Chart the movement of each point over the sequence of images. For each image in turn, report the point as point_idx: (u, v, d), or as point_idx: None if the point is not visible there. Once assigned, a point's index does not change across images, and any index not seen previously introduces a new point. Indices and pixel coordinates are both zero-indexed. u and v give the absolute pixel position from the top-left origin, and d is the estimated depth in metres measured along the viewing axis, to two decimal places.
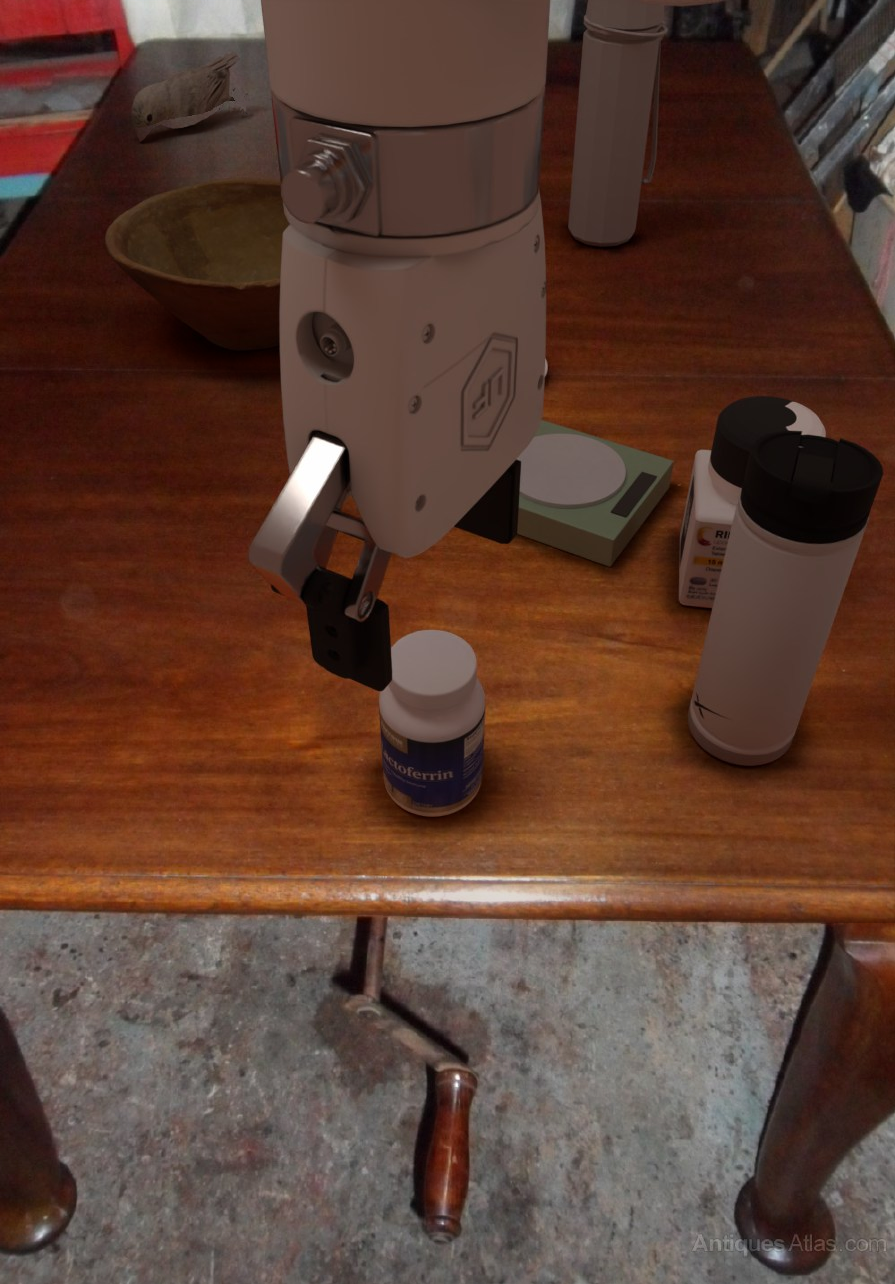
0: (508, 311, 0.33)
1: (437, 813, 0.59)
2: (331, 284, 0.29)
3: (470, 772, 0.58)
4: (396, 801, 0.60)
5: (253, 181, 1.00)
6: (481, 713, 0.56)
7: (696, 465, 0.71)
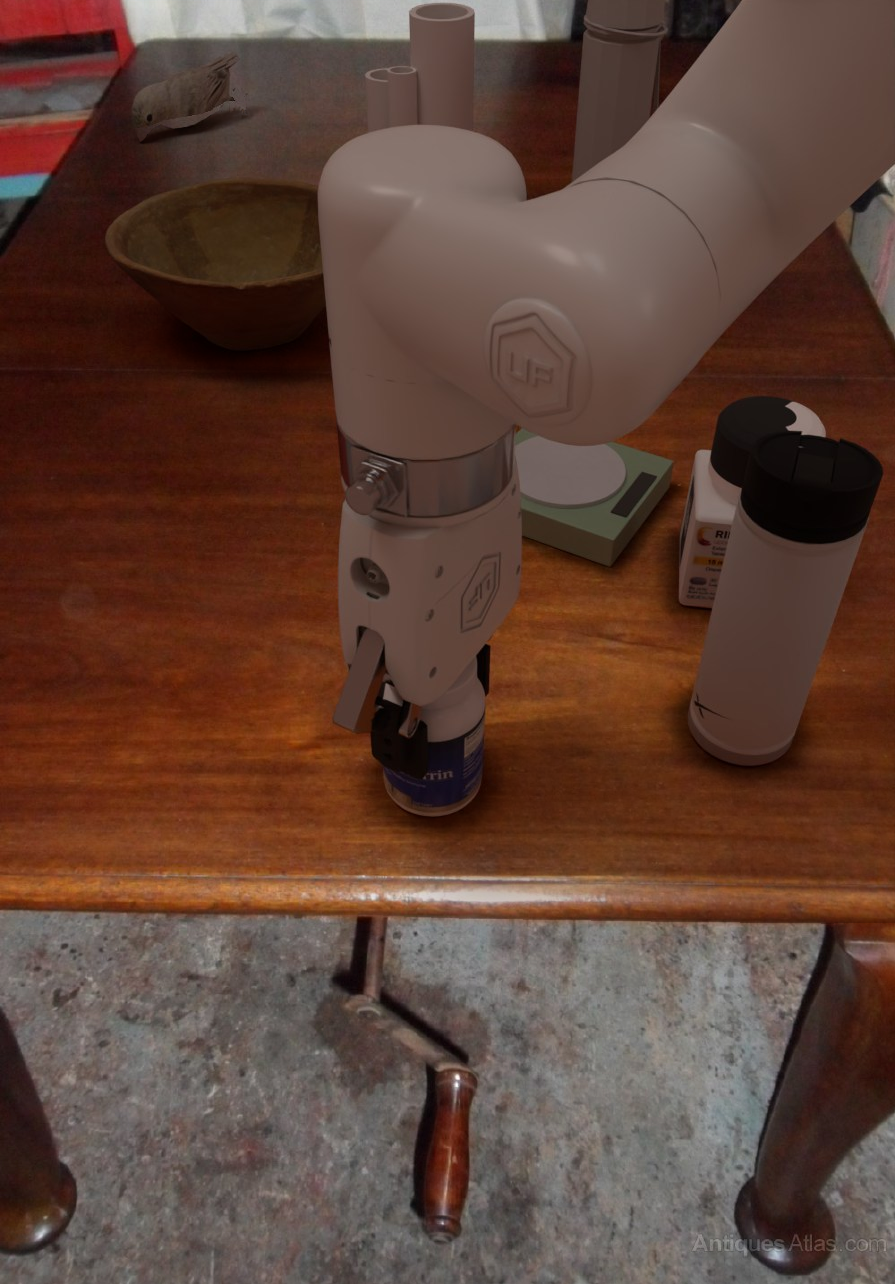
0: (493, 539, 0.48)
1: (437, 813, 0.59)
2: (375, 544, 0.44)
3: (470, 771, 0.58)
4: (396, 801, 0.59)
5: (253, 181, 1.00)
6: (481, 713, 0.56)
7: (696, 465, 0.71)
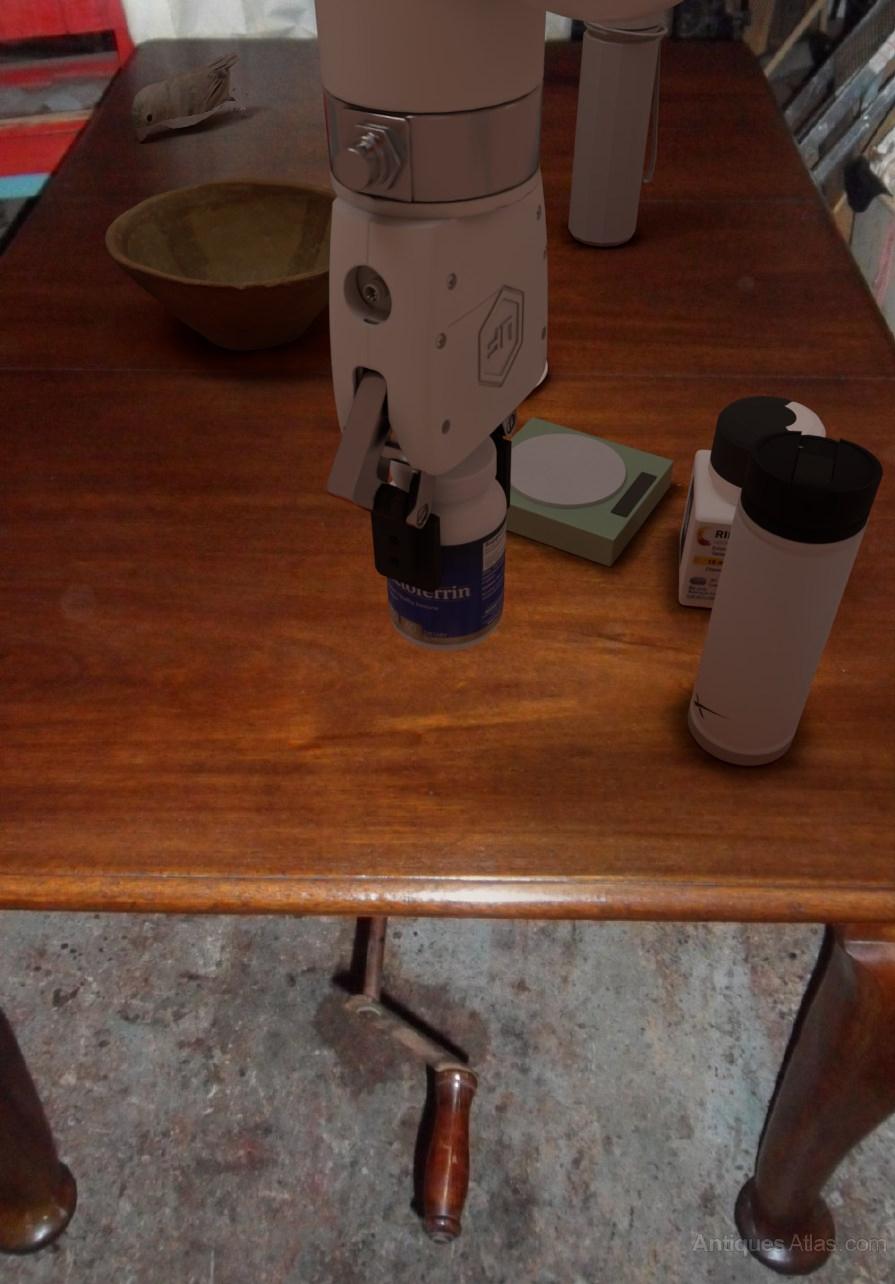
0: (516, 268, 0.40)
1: (452, 646, 0.51)
2: (373, 242, 0.36)
3: (490, 593, 0.50)
4: (404, 635, 0.51)
5: (253, 181, 1.00)
6: (502, 515, 0.47)
7: (696, 465, 0.71)
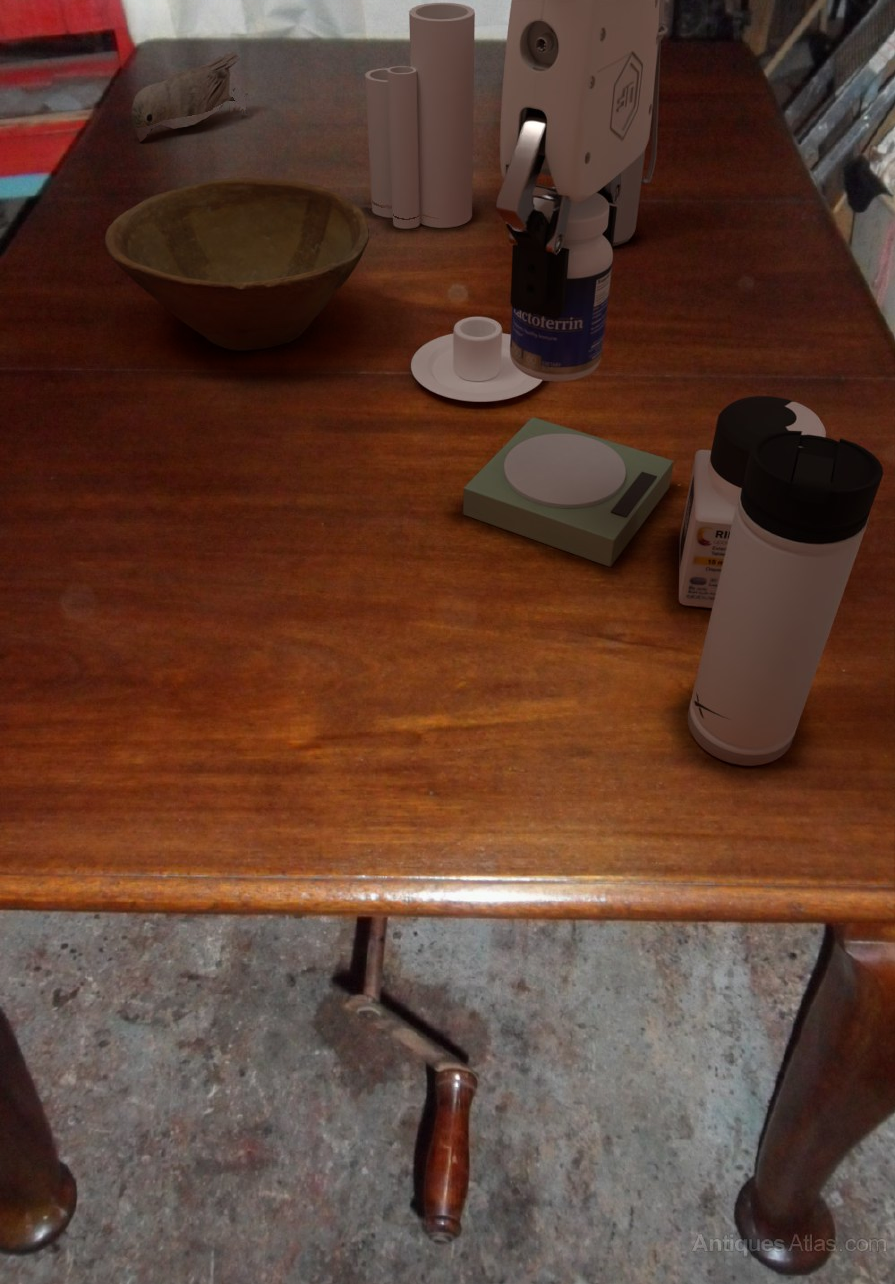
0: (640, 40, 0.53)
1: (564, 375, 0.64)
2: (548, 0, 0.49)
3: (597, 329, 0.63)
4: (525, 369, 0.65)
5: (253, 181, 1.00)
6: (610, 260, 0.61)
7: (696, 465, 0.71)
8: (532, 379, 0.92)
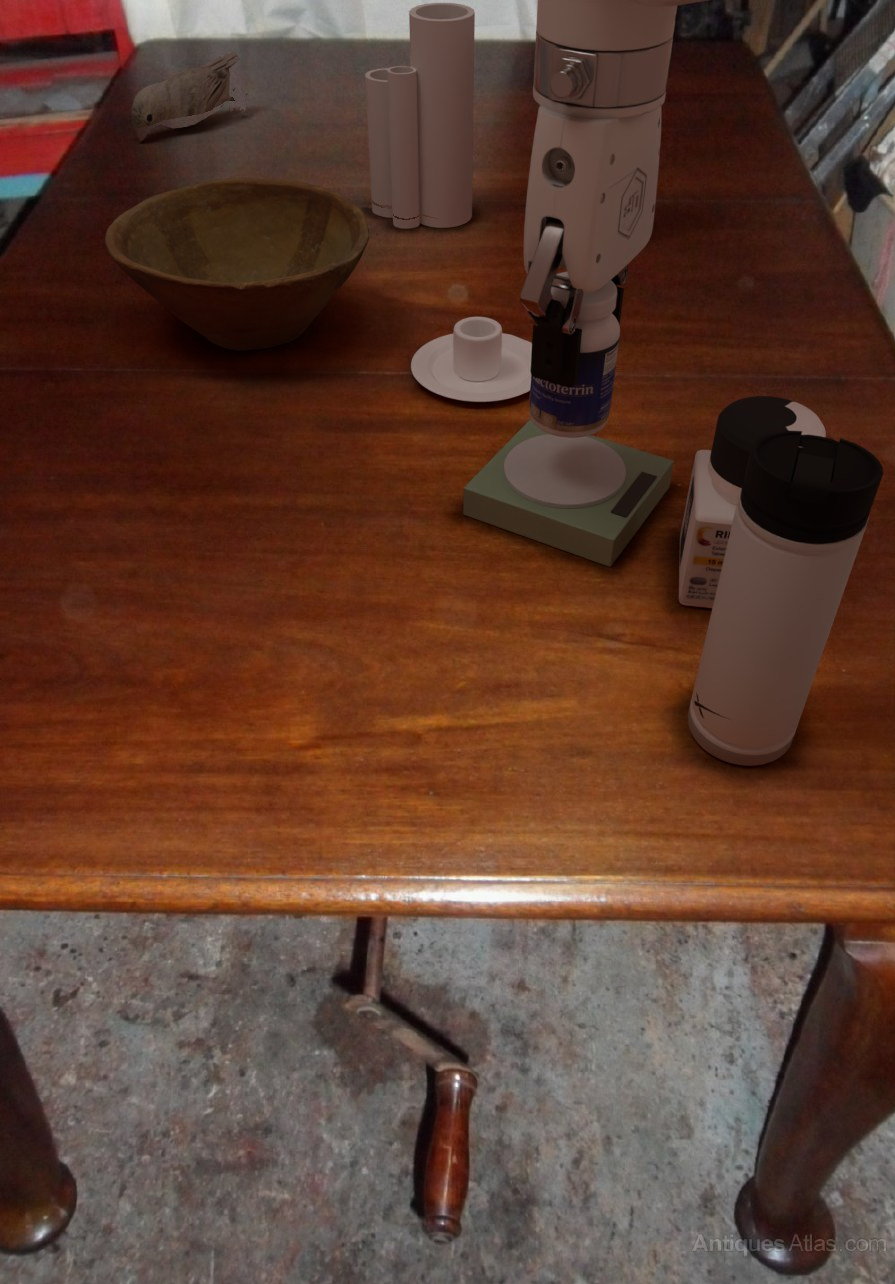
0: (644, 157, 0.62)
1: (576, 433, 0.73)
2: (566, 132, 0.58)
3: (605, 394, 0.72)
4: (542, 426, 0.74)
5: (253, 181, 1.00)
6: (618, 335, 0.70)
7: (696, 465, 0.71)
8: None
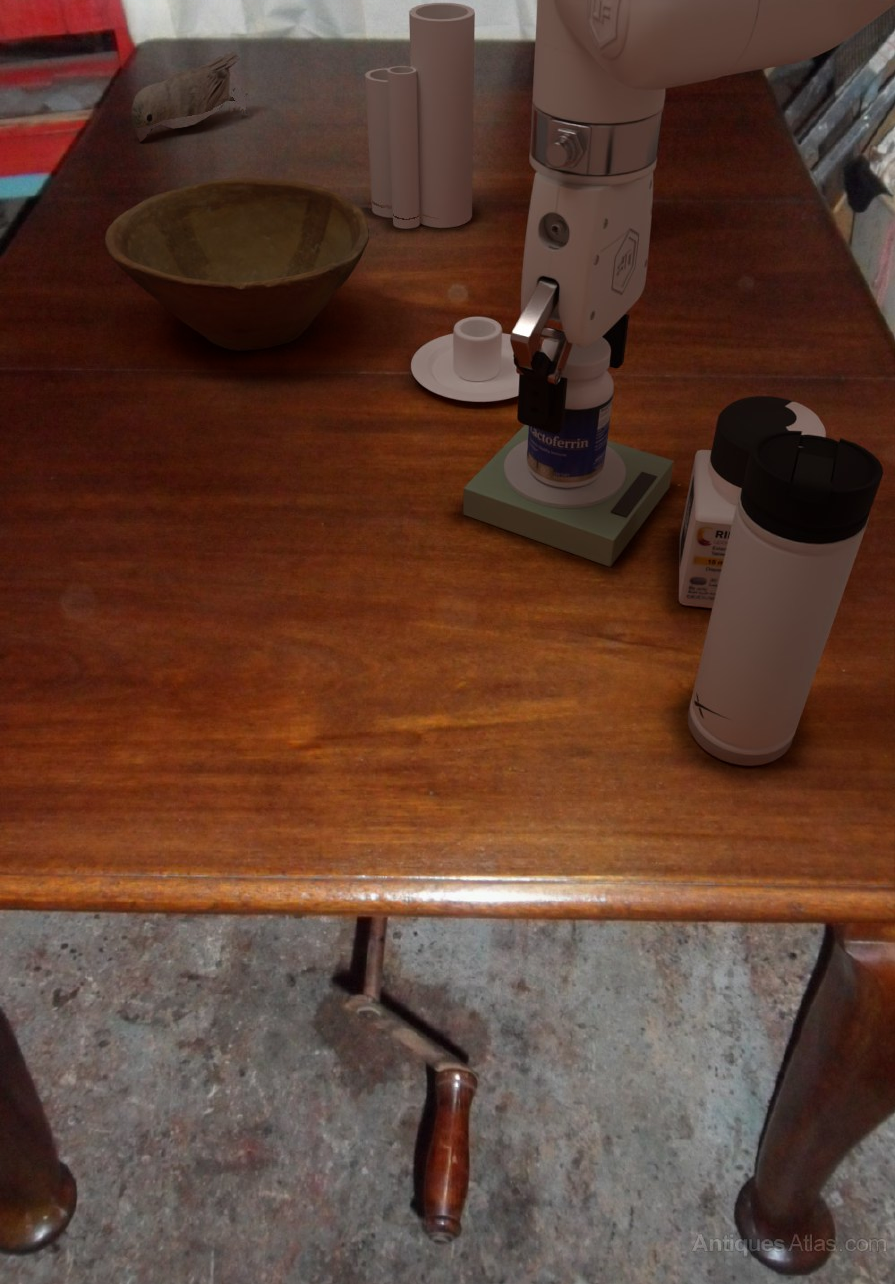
0: (636, 218, 0.65)
1: (572, 483, 0.76)
2: (561, 199, 0.61)
3: (600, 446, 0.75)
4: (539, 476, 0.77)
5: (253, 181, 1.00)
6: (612, 392, 0.73)
7: (696, 465, 0.71)
8: None
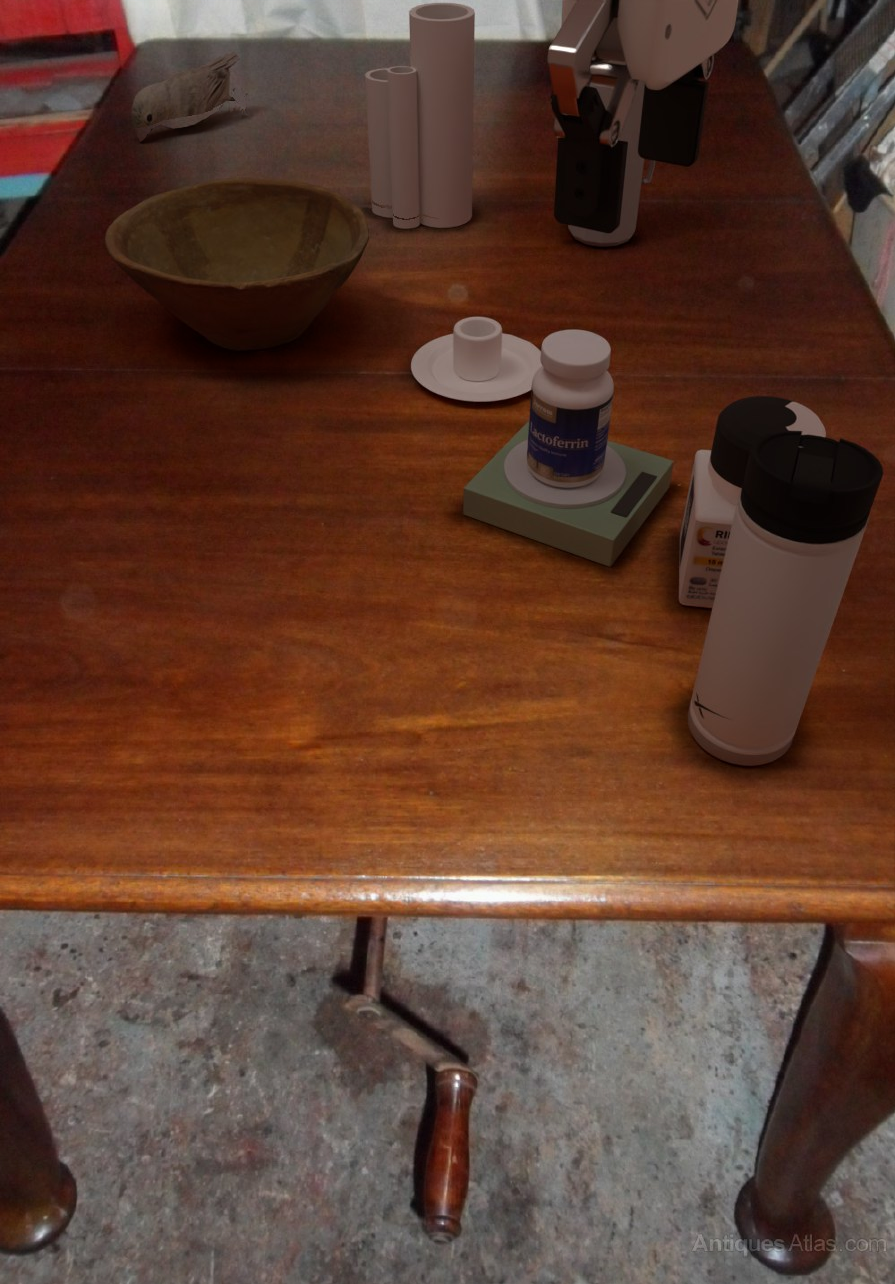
0: None
1: (572, 483, 0.76)
2: None
3: (600, 446, 0.75)
4: (539, 476, 0.77)
5: (253, 181, 1.00)
6: (612, 392, 0.73)
7: (696, 465, 0.71)
8: (532, 379, 0.92)
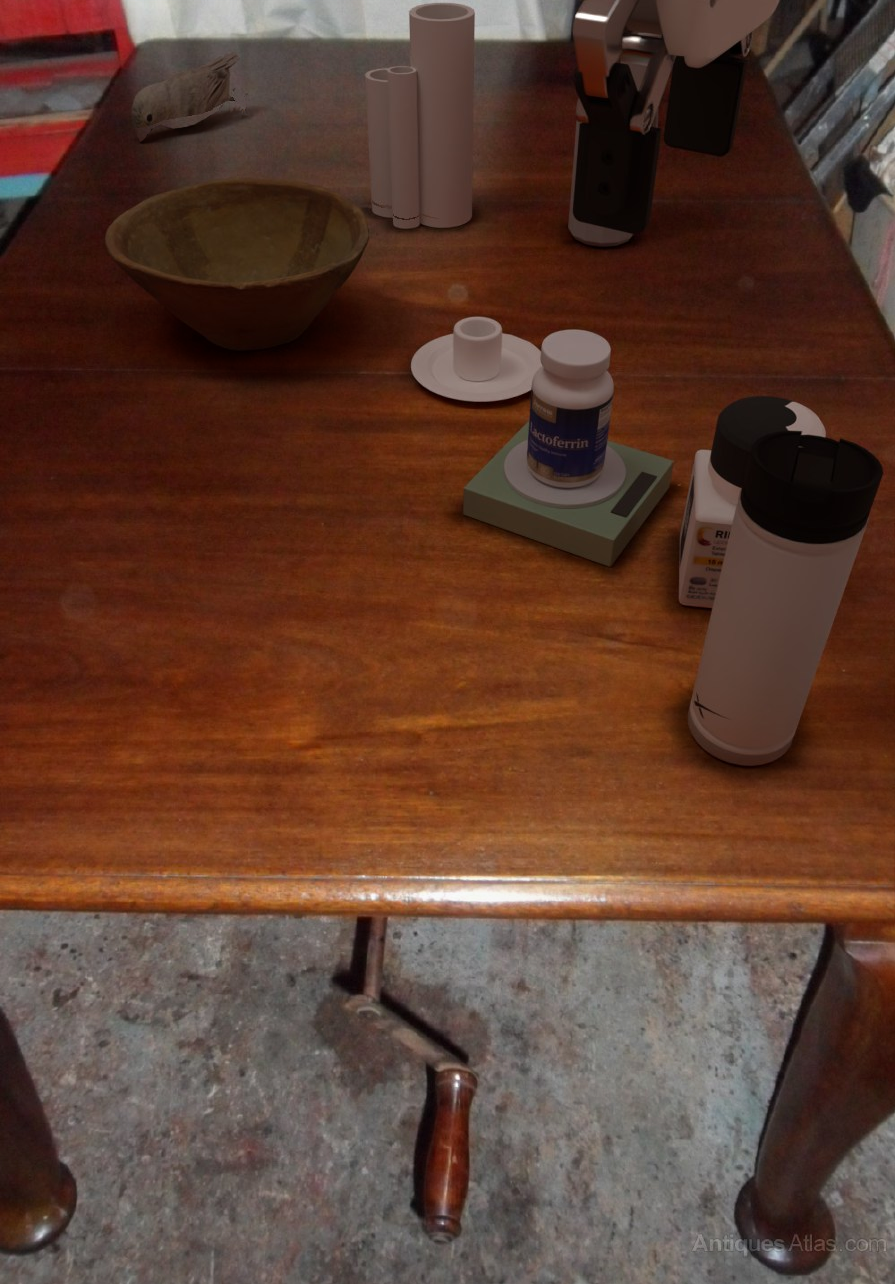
0: None
1: (572, 483, 0.76)
2: None
3: (600, 446, 0.75)
4: (539, 476, 0.77)
5: (253, 181, 1.00)
6: (612, 392, 0.73)
7: (696, 465, 0.71)
8: (532, 379, 0.92)
